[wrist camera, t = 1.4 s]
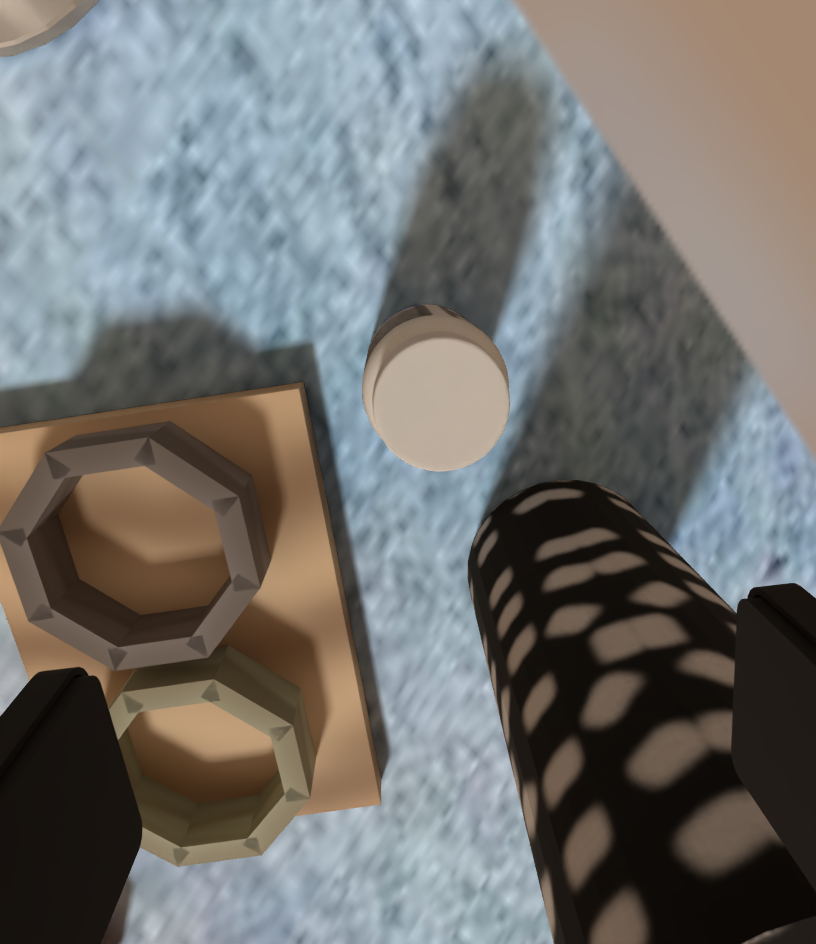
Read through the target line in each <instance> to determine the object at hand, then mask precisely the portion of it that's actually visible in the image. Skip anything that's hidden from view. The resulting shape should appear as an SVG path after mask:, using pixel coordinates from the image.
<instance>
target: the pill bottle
mask: <svg viewBox="0 0 816 944" xmlns="http://www.w3.org/2000/svg"><path fill="white" fill-rule="evenodd" d="M362 398H363V404H364V407H365V411H366V414H367V416H368V418H369V421H370V423H371V425H372V426H373V428H374V429H375V431H376V432H377V433H378V435H379V436H380V437H381V438H382V439H383V441H384V443H385V444H386V445H387V447H388V448H389V449H390V450H391V451H392V452H393V453H394V454H395V455H396V456H397V457H399V458H400V459H402V460H403V461H405V462H406V463H408V464H410V465H412V466H415V467H417V468H421V469H424V470H430V471H450V470H456V469H459V468H463V467H465V466H468V465H470V464H472V463H474V462H476V461H477V460H479V459H480V458H482V457H483V456H484V455H486V454H487V453H488V452H489V451H490V450H491V449H492V448H493V447H494V445H495V444H496V443H497V441H498V440H499V438H500V437H501V435H502V433H503V431H504V428H505V426H506V423H507V420H508V415H509V409H510V396H509V380H508V373H507V369H506V366H505V362H504V360H503V358H502V356H501V354H500V352H499V350H498V348H497V347H496V345H495V344H494V343H493V342H492V340H491V339H490V338H489V337H488V336H487V335H486V334H485V333H484V332H482V331H481V330H480V329H479V328H477V327H476V326H475V325H473V324H472V323H470V322H469V321H468V320H467V319H465V318H464V317H462V316H461V315H460V314H458V313H456V312H455V311H453V310H450V309H448V308H445V307H442V306H437V305H430V304H422V305H414V306H410V307H407V308H404V309H402V310H400V311H398V312H396V313H394V314H393V315H391V316H390V317H389V318H388V319H387V320H385V321H384V322H383V323H382V325H381V326H380V327H379V328H378V330H377V331H376V333H375V334H374V336H373V338H372V340H371V343H370V345H369V349H368V353H367V359H366V364H365V369H364V374H363V382H362Z"/></svg>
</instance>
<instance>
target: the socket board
mask: <svg viewBox="0 0 816 944" xmlns="http://www.w3.org/2000/svg"><path fill="white" fill-rule="evenodd" d="M0 601H1V604H2V606H3V609H4V612H5V615H6V617H7V620H8V623H9V626H10V628H11V631H12V634H13V636H14V639H15V642H16V645H17V647H18V650H19V653H20V656H21V658H22V661H23V664H24V666H25V669H26V672H27V675H28V677H29V680H31V679H32V677H33V676H34V675H35V674H37V673H38V672H41V671H47V670H56V669H64V668H73V667H81V668H84V669H85V670H86V672H87V673H88V675H89V676H91V675H94V676H97V678H98V679H99V680H100V683H101V685H102V688H103V692H104V695H105V698H106V702H107V705H108V708H109V712H110V715H111V718H112V722H113V725H114V728H115V732H116V735H117V738H118V742H119V745H120V748H121V752H122V755H123V759H124V762H125V765H126V769H127V772H128V775H129V779H130V782H131V785H132V789H133V792H134V795H135V799H136V802H137V805H138V809H139V812H140V815H141V819H142V828H143V831H142V840H141V845H140V848H142V849H144V850H146V851H148V852H150V853H152V854H154V855H156V856H158V857H160V858H162V859H164V860H166V861H168V862H170V863H171V864H173V865H175V866H177V867H179V866H186V865H193V864H201V863H208V862H215V861H223V860H230V859H237V858H245V857H252V856H259V855H262V854H263V853H264V852H265V851H266V850H267V848H268V847H269V846H270V845H271V844H272V843H273V841H274V840H275V839H276V838H277V837H278V836H279V834H280V833H281V832H282V831H283V830H284V829H285V827H286V826H287V825H288V824H289V823H290V822H291V820H292V819H293V818H294V817H295V816H300V815H307V814H314V813H321V812H329V811H336V810H343V809H351V808H358V807H365V806H372V805H380V804H381V777H380V772H379V767H378V762H377V757H376V752H375V747H374V741H373V736H372V731H371V726H370V721H369V716H368V711H367V705H366V700H365V695H364V690H363V685H362V680H361V675H360V669H359V664H358V659H357V654H356V649H355V644H354V639H353V634H352V628H351V623H350V618H349V613H348V608H347V603H346V598H345V592H344V587H343V582H342V577H341V572H340V567H339V562H338V556H337V551H336V546H335V541H334V536H333V531H332V526H331V520H330V515H329V510H328V505H327V500H326V495H325V490H324V484H323V479H322V474H321V469H320V464H319V459H318V454H317V449H316V443H315V438H314V433H313V428H312V423H311V418H310V413H309V407H308V402H307V397H306V392H305V387H304V382H300V383H293V384H286V385H280V386H273V387H267V388H260V389H253V390H247V391H240V392H233V393H227V394H220V395H213V396H207V397H200V398H194V399H187V400H180V401H174V402H167V403H160V404H154V405H147V406H140V407H134V408H127V409H120V410H114V411H107V412H101V413H94V414H87V415H81V416H74V417H67V418H61V419H54V420H47V421H41V422H34V423H28V424H21V425H14V426H8V427H1V428H0Z"/></svg>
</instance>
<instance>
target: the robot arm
mask: <svg viewBox="0 0 816 944" xmlns="http://www.w3.org/2000/svg"><path fill="white" fill-rule="evenodd" d="M98 2H99V0H0V57H6V56H14V55H17V54H19V53H22V52H25V51H28V50H31V49H34V48H37V47H40V46H43V45H45V44H47V43H49V42H50V41H52V40H53V39H55V38H56V37H58V36H60V35H61V34H63V33H64V32H66V31H68V30H69V29H71V28H72V27H74V26H75V25H76V24H77V23H78V22H79V21H80V20H81V19H82V18H83V17H84V16H85V15H86V14H87V13H88V12H89V11H90V10H91V9H92V8H93V7H94V6H95V5H96V4H97V3H98ZM731 756H732V761H733V764H734V768H735V770H736V773H737V775H738V777H739V778H740V780H741V781H742V783H743V784H744V786H745V787H746V789H747V790H748V792H749V793H750V795H751V796H752V798H753V799H754V801H755V802H756V804H757V805H758V807H759V808H760V810H761V811H762V813H763V814H764V816H765V817H766V819H767V820H768V822H769V823H770V825H771V826H772V828H773V829H774V831H775V832H776V834H777V835H778V837H779V838H780V840H781V841H782V842H783V844H784V845H785V847H786V848H787V850H788V851H789V853H790V854H791V856H792V857H793V859H794V860H795V862H796V863H797V865H798V866H799V868H800V869H801V871H802V872H803V874H804V875H805V877H806V878H807V880H808V881H809V883H810V884H811V886H812V887H813V889H814V890H815V892H816V598H815V597H813V596H812V595H811V594H810V593H808V592H807V591H806V590H805V589H804V588H802V587H801V586H799V585H797V584H796V583H788V584H780V585H771V586H763V587H754V588H753V589H751V590H750V592H749V594H748V598H747V599H742V600H740V601H739V603H738V607H737V623H736V646H735V669H734V692H733V715H732V738H731ZM142 831H143V828H142V819H141V815H140V812H139V809H138V805H137V802H136V799H135V795H134V792H133V789H132V785H131V782H130V779H129V775H128V772H127V769H126V765H125V762H124V759H123V755H122V752H121V748H120V745H119V742H118V738H117V735H116V732H115V728H114V725H113V722H112V718H111V715H110V712H109V708H108V705H107V702H106V698H105V695H104V692H103V688H102V685H101V683H100V680H99V679H98V678H97V676H94V675H91V676H89V675H88V673H87V672H86V670H85V669H84V668H81V667H73V668H64V669H56V670H47V671H41V672H38V673H37V674H35V675H34V676H33V677H32V679H31V680H30V681H29V682H28V683H27V685H26V686H25V687H24V688H23V689H22V691H21V692H20V693H19V694H18V696H17V697H16V698H15V699H14V700H13V702H12V703H11V704H10V705H9V707H8V708H7V709H6V710H5V711H4V713H3V714H2V715H1V716H0V944H101V941H102V939H103V936H104V934H105V931H106V929H107V927H108V924H109V922H110V919H111V917H112V914H113V912H114V909H115V907H116V905H117V902H118V900H119V897H120V895H121V892H122V890H123V887H124V885H125V882H126V880H127V878H128V875H129V873H130V870H131V868H132V865H133V863H134V860H135V858H136V856H137V853H138V851H139V848H140V845H141V840H142Z"/></svg>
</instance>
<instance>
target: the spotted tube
mask: <svg viewBox="0 0 816 944" xmlns="http://www.w3.org/2000/svg"><path fill="white" fill-rule="evenodd" d="M468 583H469V588H470V593H471V598H472V602H473V606H474V610H475V614H476V619H477V623H478V627H479V631H480V635H481V640H482V644H483V648H484V652H485V656H486V661H487V665H488V669H489V673H490V677H491V682H492V686H493V690H494V694H495V698H496V703H497V707H498V711H499V715H500V719H501V724H502V728H503V732H504V736H505V740H506V745H507V749H508V753H509V757H510V762H511V766H512V770H513V774H514V778H515V783H516V787H517V791H518V795H519V799H520V804H521V808H522V812H523V816H524V820H525V825H526V829H527V833H528V837H529V841H530V846H531V850H532V854H533V858H534V862H535V867H536V871H537V875H538V879H539V883H540V888H541V892H542V896H543V900H544V904H545V909H546V913H547V917H548V921H549V925H550V930H551V934H552V938H553V942H554V944H816V892H815V890H814V889H813V887H812V886H811V884H810V883H809V881H808V880H807V878H806V877H805V875H804V874H803V872H802V871H801V869H800V868H799V866H798V865H797V863H796V862H795V860H794V859H793V857H792V856H791V854H790V853H789V851H788V850H787V848H786V847H785V845H784V844H783V842H782V841H781V840H780V838H779V837H778V835H777V834H776V832H775V831H774V829H773V828H772V826H771V825H770V823H769V822H768V820H767V819H766V817H765V816H764V814H763V813H762V811H761V810H760V808H759V807H758V805H757V804H756V802H755V801H754V799H753V798H752V796H751V795H750V793H749V792H748V790H747V789H746V787H745V786H744V784H743V783H742V781H741V780H740V778H739V777H738V775H737V773H736V770H735V768H734V764H733V761H732V756H731V738H732V715H733V692H734V669H735V646H736V623H737V613H736V612H735V611H734V610H733V609H732V608H731V607H730V606H729V605H728V604H727V603H726V602H725V601H724V600H723V599H722V598H721V597H720V596H719V595H718V594H717V593H716V592H715V591H714V590H713V589H712V588H711V587H710V586H709V585H708V584H707V583H706V581H705V580H704V579H703V578H702V577H701V576H700V575H699V574H698V573H697V572H696V571H695V570H694V569H693V568H692V567H691V566H690V565H689V564H688V563H687V562H686V561H685V560H684V559H683V558H682V557H681V556H680V555H679V554H678V553H677V552H676V551H675V550H674V549H673V547H672V546H671V545H670V544H669V543H668V542H667V541H666V540H665V539H664V538H663V537H662V536H661V535H660V534H659V533H658V532H657V531H656V530H655V529H654V528H653V527H652V526H651V525H650V524H649V523H648V522H647V521H646V520H645V519H644V518H643V517H642V516H641V515H640V513H639V512H638V511H637V510H636V509H635V508H634V507H633V506H632V505H631V504H630V503H629V502H628V501H627V500H626V499H624V498H623V497H621V496H620V495H618V494H617V493H615V492H614V491H612V490H610V489H607V488H605V487H602V486H600V485H597V484H595V483H589V482H584V481H578V480H557V481H552V482H547V483H542V484H538V485H535V486H533V487H530V488H528V489H525V490H523V491H520V492H519V493H517V494H515V495H514V496H512V497H511V498H509V499H507V500H506V501H504V502H503V503H502V504H501V505H500V506H499V507H498V508H497V509H496V510H495V511H493V512H492V513H491V514H490V516H489V517H488V518H487V520H486V521H485V522H484V524H483V525H482V526H481V528H480V529H479V531H478V533H477V536H476V538H475V540H474V542H473V544H472V547H471V552H470V556H469V560H468Z"/></svg>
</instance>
